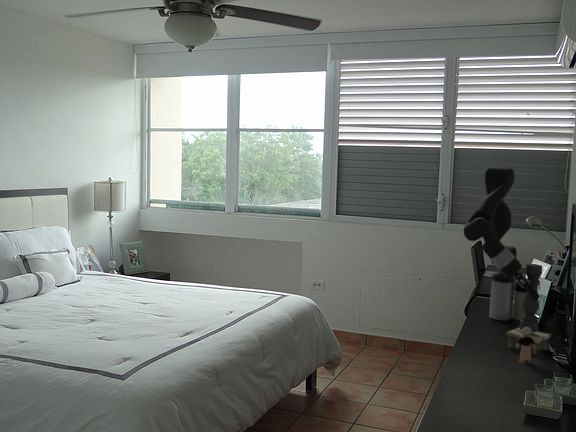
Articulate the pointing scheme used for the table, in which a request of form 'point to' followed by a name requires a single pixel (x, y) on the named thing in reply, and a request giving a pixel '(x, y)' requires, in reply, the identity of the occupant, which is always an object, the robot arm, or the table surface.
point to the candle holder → (531, 298)
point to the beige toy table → (535, 336)
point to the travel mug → (518, 302)
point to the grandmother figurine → (526, 345)
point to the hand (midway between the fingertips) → (537, 296)
